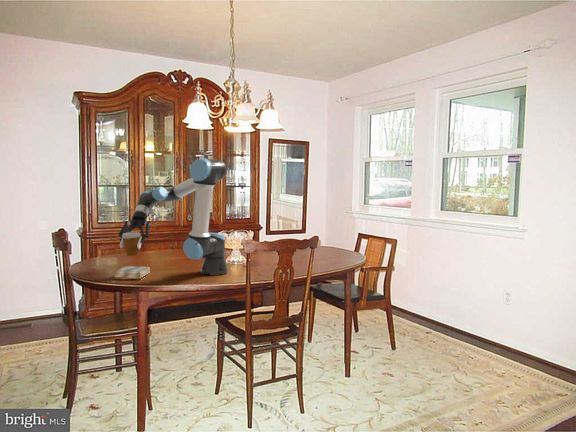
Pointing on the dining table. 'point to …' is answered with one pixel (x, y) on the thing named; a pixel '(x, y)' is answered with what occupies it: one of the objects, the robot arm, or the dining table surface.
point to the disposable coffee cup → (131, 243)
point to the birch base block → (132, 272)
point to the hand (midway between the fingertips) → (129, 247)
